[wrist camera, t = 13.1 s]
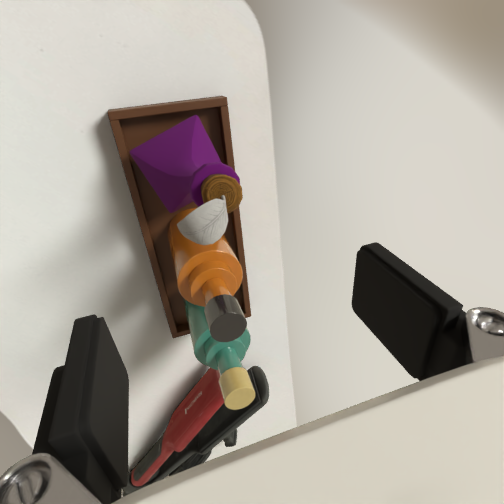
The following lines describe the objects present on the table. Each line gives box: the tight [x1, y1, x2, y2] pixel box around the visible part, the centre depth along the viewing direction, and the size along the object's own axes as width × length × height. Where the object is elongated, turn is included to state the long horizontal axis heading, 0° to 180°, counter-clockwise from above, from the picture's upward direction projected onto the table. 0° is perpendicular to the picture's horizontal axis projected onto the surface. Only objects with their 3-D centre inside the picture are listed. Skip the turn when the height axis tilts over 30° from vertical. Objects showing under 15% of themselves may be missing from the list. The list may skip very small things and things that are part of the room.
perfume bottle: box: [130, 115, 243, 245], centre depth 28 cm, size 8×8×18 cm
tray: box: [107, 96, 251, 338], centre depth 40 cm, size 30×12×2 cm, turn 5°
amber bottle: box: [167, 208, 247, 342], centre depth 33 cm, size 6×6×18 cm
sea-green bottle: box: [182, 296, 255, 410], centre depth 38 cm, size 6×6×18 cm
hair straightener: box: [122, 366, 269, 497], centre depth 57 cm, size 16×40×8 cm, turn 144°
